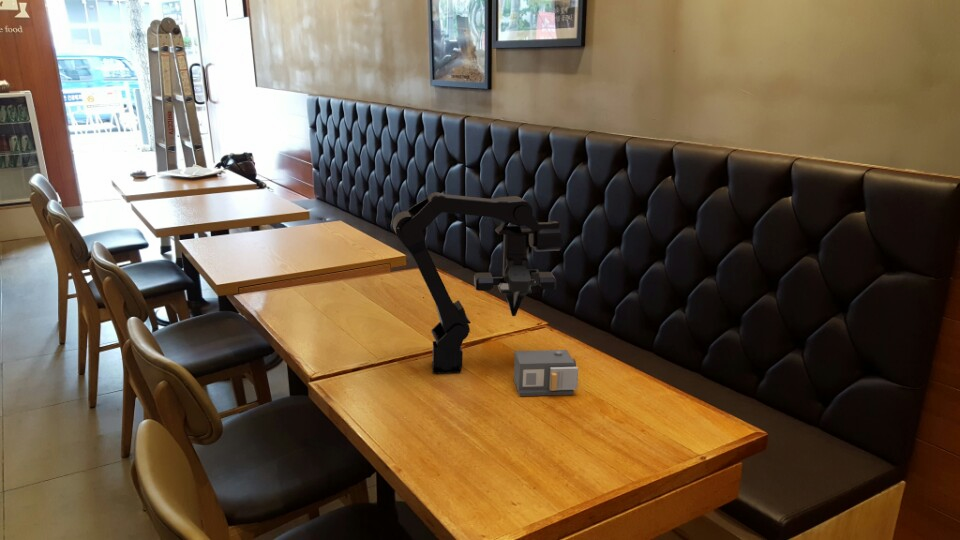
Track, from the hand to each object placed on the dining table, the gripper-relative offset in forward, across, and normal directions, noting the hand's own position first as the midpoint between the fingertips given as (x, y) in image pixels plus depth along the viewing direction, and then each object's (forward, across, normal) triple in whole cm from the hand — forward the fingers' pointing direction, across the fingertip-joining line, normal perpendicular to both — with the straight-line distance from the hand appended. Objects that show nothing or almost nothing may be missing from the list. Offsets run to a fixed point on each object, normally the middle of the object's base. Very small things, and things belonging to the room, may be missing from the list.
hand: (513, 315), depth 160 cm
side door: (+11, +9, -18) cm, 23 cm away
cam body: (+12, +5, -13) cm, 18 cm away
